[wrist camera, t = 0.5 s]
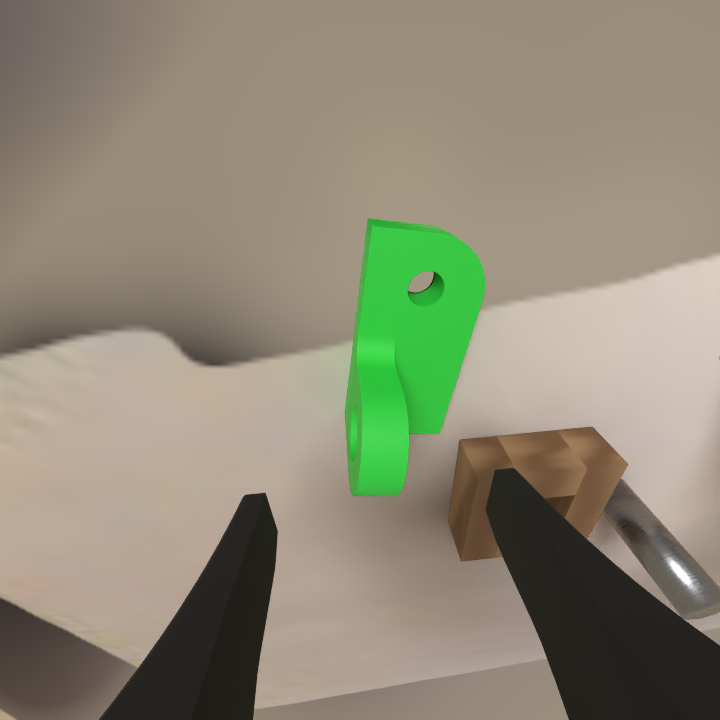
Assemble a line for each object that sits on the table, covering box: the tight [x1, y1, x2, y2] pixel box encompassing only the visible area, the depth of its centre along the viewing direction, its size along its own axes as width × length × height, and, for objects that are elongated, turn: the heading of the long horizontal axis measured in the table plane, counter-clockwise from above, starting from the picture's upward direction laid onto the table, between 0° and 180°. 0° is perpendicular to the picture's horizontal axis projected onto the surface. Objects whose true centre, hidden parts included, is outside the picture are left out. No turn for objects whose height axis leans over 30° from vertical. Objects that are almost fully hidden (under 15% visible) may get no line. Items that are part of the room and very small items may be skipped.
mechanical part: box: [345, 218, 485, 496], centre depth 16 cm, size 12×6×8 cm, turn 173°
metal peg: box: [602, 479, 720, 620], centre depth 25 cm, size 3×3×9 cm
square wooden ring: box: [448, 427, 628, 561], centre depth 26 cm, size 10×10×4 cm
